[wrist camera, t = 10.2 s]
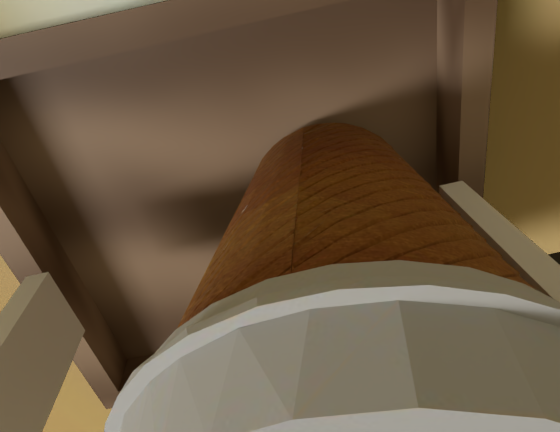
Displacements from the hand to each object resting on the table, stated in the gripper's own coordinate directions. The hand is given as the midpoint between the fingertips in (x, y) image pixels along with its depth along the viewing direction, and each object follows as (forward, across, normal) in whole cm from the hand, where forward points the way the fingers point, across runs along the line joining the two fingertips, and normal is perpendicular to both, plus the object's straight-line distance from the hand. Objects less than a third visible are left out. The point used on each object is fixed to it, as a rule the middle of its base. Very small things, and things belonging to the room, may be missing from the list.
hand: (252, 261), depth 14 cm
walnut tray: (+4, 0, 0) cm, 4 cm away
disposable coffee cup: (+3, +3, 0) cm, 5 cm away
